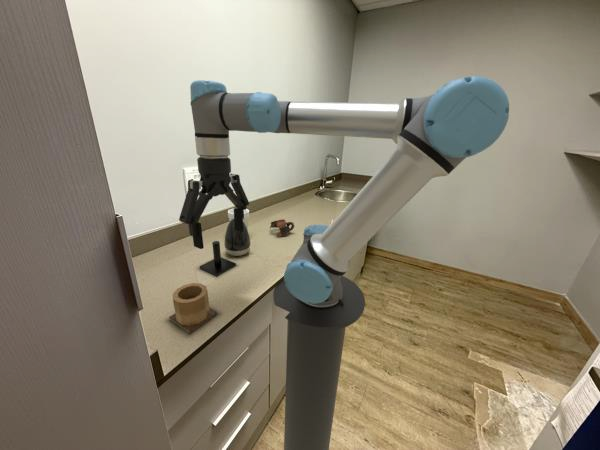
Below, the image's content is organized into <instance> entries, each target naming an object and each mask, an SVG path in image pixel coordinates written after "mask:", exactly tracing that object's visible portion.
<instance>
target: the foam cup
mask: <svg viewBox="0 0 600 450" xmlns="http://www.w3.org/2000/svg"><path fill="white" fill-rule="evenodd" d="M227 217H228V222H230V221H231V220H232V219H233V218H234V208H231V209H228V210H227ZM249 219H250V210H249V209H248V208H247V209H246V210H244V219H243V222H244V223H245V225H246V228H247V230H248V229H249Z"/></svg>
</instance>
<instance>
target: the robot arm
mask: <svg viewBox="0 0 600 450" xmlns="http://www.w3.org/2000/svg"><path fill="white" fill-rule="evenodd" d="M189 90H190V107H191V114H192V121H193V122H192V123H193V128H194V140H195V148H196V149H195V150H196V155H197V156H199V157H197V158H196V162H197V170H198V174H199V176H200V177H199V180H194V179H189V180H187V192H186V195H185V198H184V202H183V205H182V208H181V211H180V214H179V218H178V221H179V222H181V223H183V224H186V225H188V233H189V235H190V237H192V241H193V247H195V248H197V249H200V250H202V249H203V250H204V239H203V229H202V223H201V222H199V221H200V219H201V217H202V215H203V213H204V211H205V209H206V208H207V207H208V204H209V203H210V200H212V199H213V197H214V198H215V197H218V196H220V195H221V196H223V195H225V196H226V197H227V199H228V200H229V201H230V202H231V203H232V204H233V206H234V207H235V208H234V207H233V209H234V225H235V230H236V231H240V232H243V219H244V210H246V209H248V206H249V205H250V201H249V199H248V197H247V195H246V192H245V190H244V188H243V186H242V183H241V177H240V174H237V173H232V163H231V158H230V155H231V146H230V132H235V131H237V132H249V133H250V132H251V133H259V134H266V133H273V134H294V135H295V134H296V135H313V136H315V135H316V136H317V135H318V136H333V137H349V138H350V137H352V138H366V139H367V138H370V139H386V140H387V139H388V140H392V141H393V142H394V144H395V145H396V149H395V150H394V152H393V153H392V154H391V155H390V156H389V157H388V158H387V159H386V161H384V163H383V164H382V165H381V167H379V168H378V170H377V171H376V172H375V173H374V174H373V176H372V177H371V178H370V179H369V180H368V181H367V183H365V185H364V186H363V187H361V189H360V190H359V192H358V193H357V194H356V195H355V196H354V197H352V200H350V202H349V203H348V204H347V205H346V206H345V207H344V209H342V211H341V212H340V213H339V214H338V215H337V216H336V218H335V219H334V220H333V221H332V222H331V223H330V224H329V225H326V224H310V225H308V226H305V228H304V229H303V230H304V231H303V234H302V235H303V240H302V244H301V246H300V247H299V249H298V250H297V251H296V253H295V255H294V256H293V257H292V259H291V260H290V262H289V263H288V264H287V265H286V268H285V270H284V274H283V278H284V281H285V285H286V287H287V289H288V290H289V292H290V293H291V294H292V295H293V296H294V297H296V298H297V299H298V300H299V301H300V302H301V303H302V304H304V305H305V306H308V307H310V308H314V309H330V308H333V307H335V306H337V305H338V304H339V303H340V304H341V305H342V306H343V305H344V303H343V301H342V297H343V289H342V285H341V281H340V278H341V277H342V276H344V275H345V274H346V273H347V272H349V271H350V269H351V259H352V258H353V257H354V256H355V255H356V254H357V253H358V252H359V251H361V249H362V248H364V246H365V245H366V244H367V243H368V242H369V241H371V239H372V238H373V237H374V236H375V235H376V234H377V233H378V232H379V231H380V230H381V229H382V228H383V227H384V226H385V225H386V224H387V223H388V222H389V221H391V220H392V219H393V218H394V217H395V215H397V213H399V212H400V211H401V210H402V209H403V208H404V206H406V205H407V204H408V203H409V202H410V201H411V200H412V199H413V198H414V197H415V196H416V195H417V194H418V193H419V192H420V191H421V190H422V189H423V188H424V187H425V186H426V185H427V184H428V183H429V182H431V180H432V179H434V178H439V177H440V178H441V177H448V176H449V175H450V174H451V172H453V171H454V170H455V169H456V168H457V167H458V166H459V165H460V164H461V163H462V162H463V161H464V160H465V159H467V158H470V157H473V156H476V155H478V154H480V153H481V152H483V151H485V150H487V149H488V148H490V147H491V146H493V144H494V143H496V142H497V140H498V139H499V138H500V137H501V135H502V134H503V132H504V131H505V129H506V127H507V124H508V121H509V117H510V114H509V113H510V101H509V98H508V95H507V93H506V91H505V90H504V88H503V87H502V86H501V85H500V84H498V83H497V82H496V81H495V80H493V79H490V78H488V77H485V76H481V75H479V76H477V75H471V76H464V77H461V78H456V79H453V80H451V81H449V82H447V83H445V84H444V85H443V86H441V87H440V88H438V89H437V90H436V92H434V93H433V94H431V95H428V96H421V97H415V98H414V97H413V98H411V97H410V98H407V97H405V98H403V99H402V100H400V101H399V102H396V103H393V102H390V103H389V102H343V101H342V102H340V101H338V102H337V101H336V102H335V101H333V102H332V101H288V100H287V101H286V100H285V101H284V100H278V97H277V96H276V95H275V94H273V93H266V92H265V93H264V92H261V91H256V92H228V90H227V87H226V85H225V84H224V83H222V82H219V81H213V80H200V79H199V80H198V79H197V80H194V81H193V82H191V83H190V89H189ZM230 184H231V186H230Z"/></svg>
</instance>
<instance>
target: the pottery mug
mask: <svg viewBox="0 0 600 450" xmlns="http://www.w3.org/2000/svg"><path fill="white" fill-rule="evenodd" d="M274 228H275V229H276V228H277V229H279V231H278V232H276V236H277V238H281V237H287V236H289V234H290V232H291V231H293V230H294V229H295V224H294V222H292V221H289V222H288V221H286V219H284V218H283V219H278V220H273V221H271V222H270V226H269V229H274Z"/></svg>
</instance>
